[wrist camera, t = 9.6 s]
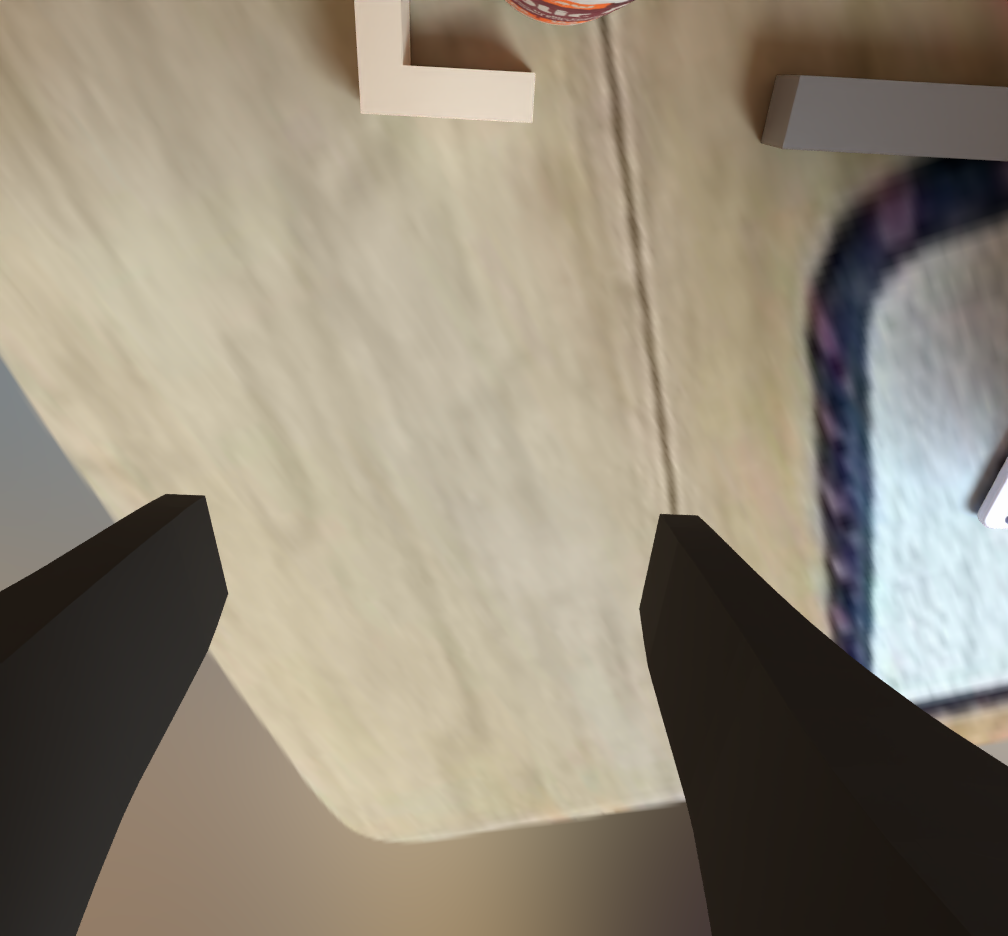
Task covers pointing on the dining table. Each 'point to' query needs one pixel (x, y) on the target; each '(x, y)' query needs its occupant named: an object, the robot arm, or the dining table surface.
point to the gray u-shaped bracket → (888, 117)
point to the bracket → (428, 75)
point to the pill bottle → (566, 10)
